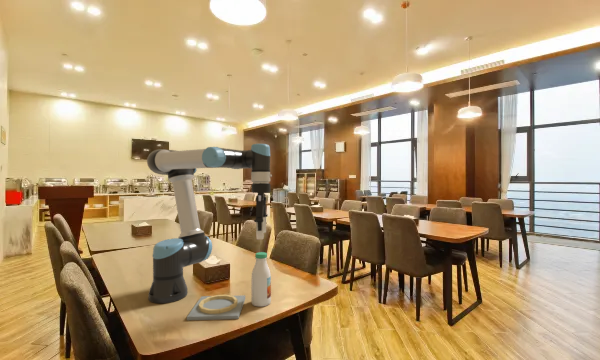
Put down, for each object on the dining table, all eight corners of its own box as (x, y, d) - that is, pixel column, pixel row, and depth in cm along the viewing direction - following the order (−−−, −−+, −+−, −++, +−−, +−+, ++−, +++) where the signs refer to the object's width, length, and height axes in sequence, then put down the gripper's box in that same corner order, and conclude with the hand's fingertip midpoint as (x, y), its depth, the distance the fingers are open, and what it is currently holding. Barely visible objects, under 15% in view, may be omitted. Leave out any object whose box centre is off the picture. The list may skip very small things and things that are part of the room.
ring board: (186, 320, 102) (186, 313, 102) (201, 299, 120) (201, 293, 120) (238, 318, 103) (238, 312, 103) (245, 298, 121) (245, 292, 121)
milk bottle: (262, 308, 111) (262, 256, 111) (247, 304, 116) (247, 254, 115) (274, 301, 118) (274, 252, 118) (260, 297, 122) (259, 249, 122)
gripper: (268, 182, 104) (269, 242, 104) (271, 182, 129) (272, 230, 129) (247, 183, 104) (248, 242, 104) (254, 182, 129) (255, 230, 129)
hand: (261, 235), depth 117 cm, fingers open, 13 cm apart
